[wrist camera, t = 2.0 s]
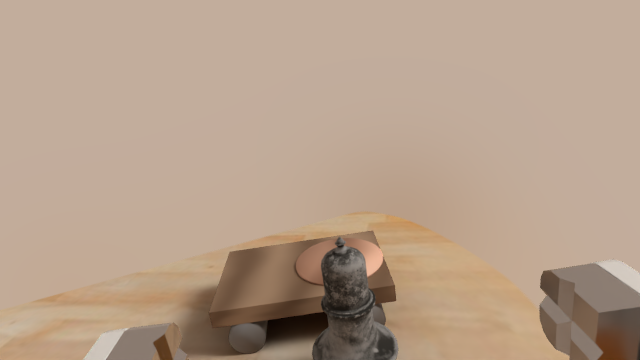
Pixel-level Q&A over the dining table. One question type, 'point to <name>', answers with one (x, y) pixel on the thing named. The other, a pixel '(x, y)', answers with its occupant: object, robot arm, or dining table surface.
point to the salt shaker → (350, 311)
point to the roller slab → (287, 285)
